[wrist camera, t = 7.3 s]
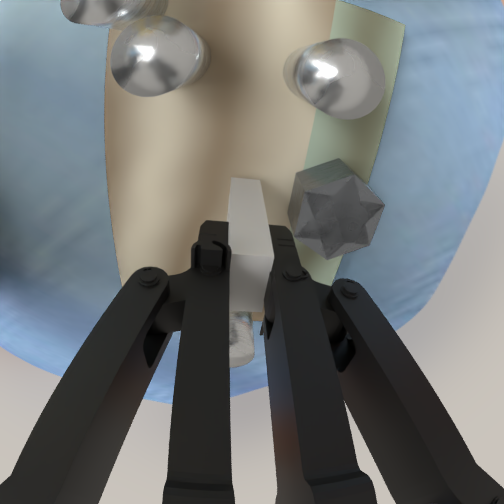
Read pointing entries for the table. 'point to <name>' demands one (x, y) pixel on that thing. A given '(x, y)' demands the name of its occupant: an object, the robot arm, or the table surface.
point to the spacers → (196, 64)
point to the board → (234, 128)
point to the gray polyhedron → (333, 209)
